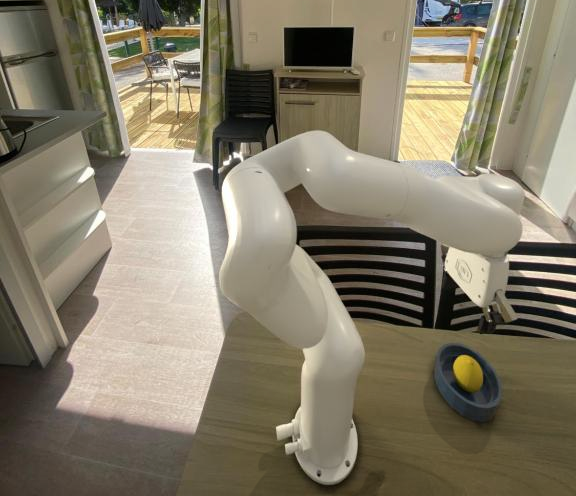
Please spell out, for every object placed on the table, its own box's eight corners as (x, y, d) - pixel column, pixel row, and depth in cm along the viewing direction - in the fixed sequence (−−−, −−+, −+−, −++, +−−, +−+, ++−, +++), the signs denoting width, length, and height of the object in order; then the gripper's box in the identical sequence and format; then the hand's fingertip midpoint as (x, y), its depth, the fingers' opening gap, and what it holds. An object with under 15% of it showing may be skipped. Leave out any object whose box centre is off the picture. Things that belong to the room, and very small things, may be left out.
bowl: (461, 431, 59) (465, 415, 57) (422, 364, 70) (425, 349, 68) (511, 414, 61) (517, 398, 60) (465, 352, 72) (469, 337, 71)
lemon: (483, 404, 62) (491, 378, 60) (454, 397, 63) (461, 372, 61) (473, 374, 67) (480, 350, 65) (447, 369, 68) (452, 344, 66)
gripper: (435, 212, 62) (422, 275, 67) (509, 281, 46) (484, 357, 51) (465, 208, 64) (450, 271, 69) (548, 273, 47) (520, 348, 53)
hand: (465, 307), depth 60 cm, fingers open, 9 cm apart
